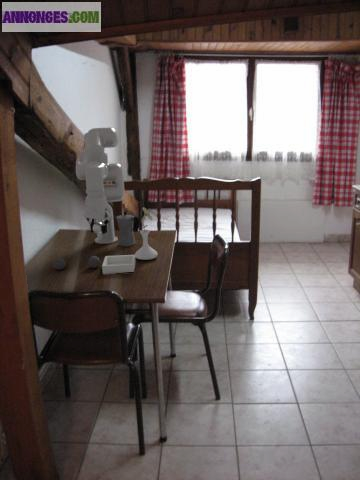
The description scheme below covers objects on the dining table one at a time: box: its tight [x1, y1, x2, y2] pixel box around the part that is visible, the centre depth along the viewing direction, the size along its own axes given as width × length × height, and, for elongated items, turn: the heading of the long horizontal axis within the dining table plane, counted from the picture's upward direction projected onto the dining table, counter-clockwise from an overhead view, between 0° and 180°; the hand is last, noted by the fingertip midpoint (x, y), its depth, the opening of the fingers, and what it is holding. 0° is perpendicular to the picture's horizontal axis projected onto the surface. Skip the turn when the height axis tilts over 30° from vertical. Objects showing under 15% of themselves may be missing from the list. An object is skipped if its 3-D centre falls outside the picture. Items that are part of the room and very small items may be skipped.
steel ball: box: [93, 221, 102, 235], centre depth 216 cm, size 6×6×6 cm
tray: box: [101, 254, 136, 275], centre depth 220 cm, size 14×14×4 cm
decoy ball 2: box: [87, 255, 101, 269], centre depth 222 cm, size 6×6×6 cm
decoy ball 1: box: [53, 257, 67, 270], centre depth 222 cm, size 6×6×6 cm
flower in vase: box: [134, 206, 159, 261], centre depth 231 cm, size 13×11×25 cm
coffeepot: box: [114, 211, 141, 247], centre depth 254 cm, size 15×9×18 cm, turn 62°
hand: (99, 232), depth 216 cm, fingers closed on steel ball, 5 cm apart
